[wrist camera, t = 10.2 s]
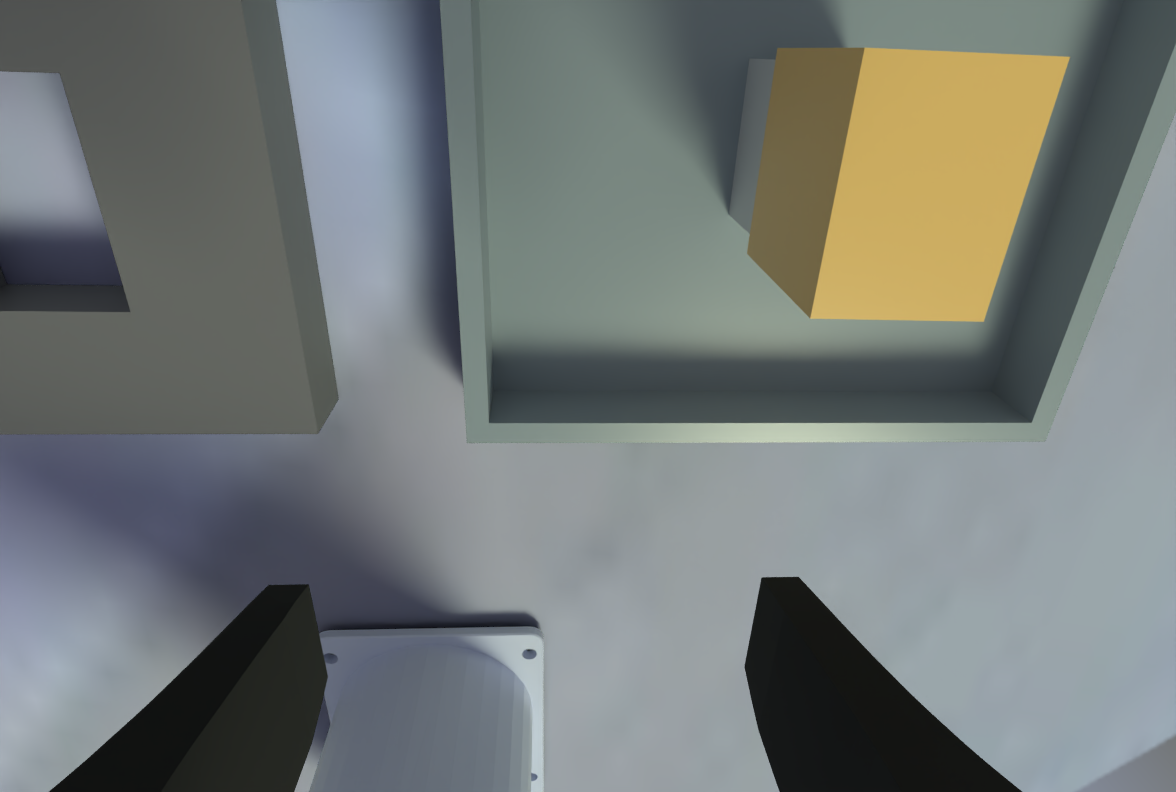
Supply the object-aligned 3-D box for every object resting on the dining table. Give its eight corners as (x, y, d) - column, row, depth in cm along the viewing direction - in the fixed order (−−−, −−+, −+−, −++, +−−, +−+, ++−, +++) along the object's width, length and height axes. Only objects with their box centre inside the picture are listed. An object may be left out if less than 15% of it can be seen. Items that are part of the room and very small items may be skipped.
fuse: (829, 225, 18) (984, 321, 11) (716, 222, 17) (810, 318, 11) (863, 53, 16) (1070, 56, 10) (737, 48, 16) (864, 47, 9)
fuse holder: (338, 399, 20) (317, 433, 18) (-95, 398, 19) (-161, 434, 17) (259, -102, 14) (218, -124, 13) (-352, -130, 14) (-488, -157, 12)
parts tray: (992, 399, 21) (1045, 441, 19) (475, 399, 20) (466, 442, 18) (1188, -172, 15) (1303, -211, 12) (443, -213, 14) (422, -265, 11)
